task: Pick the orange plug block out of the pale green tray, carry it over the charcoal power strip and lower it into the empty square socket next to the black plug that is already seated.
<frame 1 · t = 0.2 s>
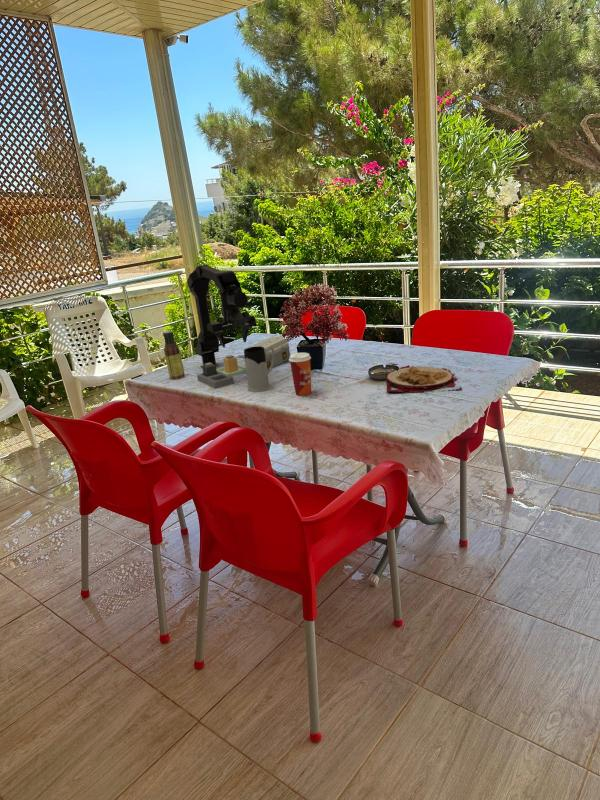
hand: (234, 344, 216), 14 cm above the table, tool pointing down, fingers open, 9 cm apart
grey pitcher: (264, 386, 209), on the table
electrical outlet: (268, 365, 235), on the table
power strip: (215, 383, 218), on the table
plate with food: (421, 382, 197), on the table
paper cup: (303, 393, 196), on the table
tray: (232, 373, 229), on the table
twin plug: (211, 379, 221), resting on power strip
plug: (231, 371, 229), resting on tray
sauce bottle: (177, 378, 230), on the table
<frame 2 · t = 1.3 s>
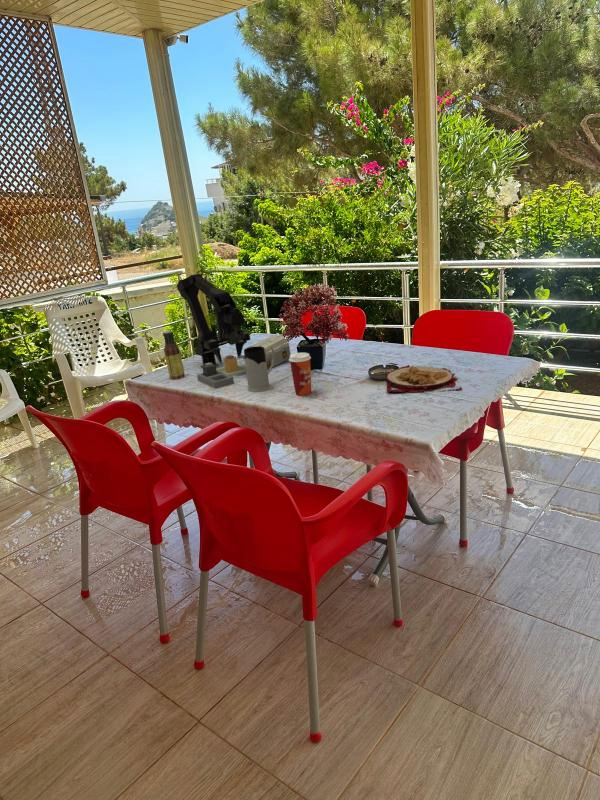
hand: (230, 360, 228), 5 cm above the table, tool pointing down, fingers open, 8 cm apart
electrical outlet: (269, 365, 235), on the table, touching gripper
everything else where it was.
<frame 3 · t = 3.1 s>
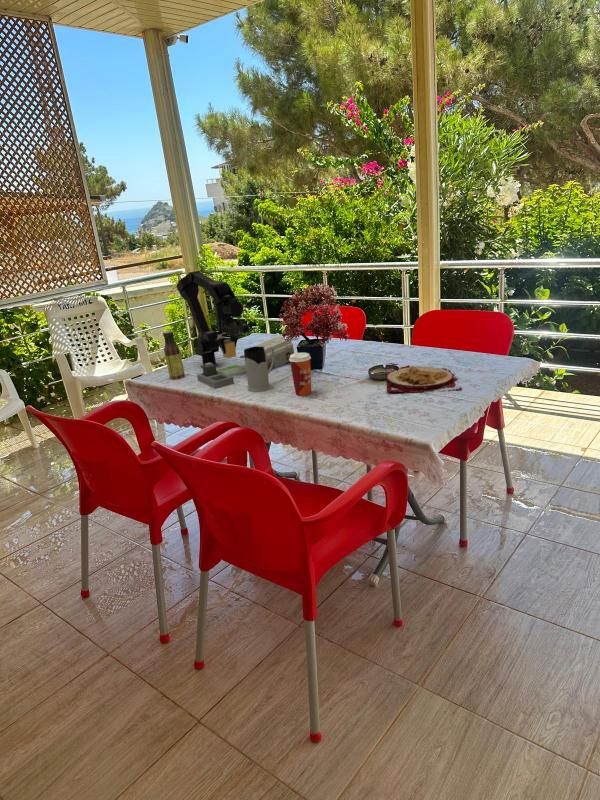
hand: (229, 352, 226), 9 cm above the table, tool pointing down, fingers closed on plug, 4 cm apart
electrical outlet: (272, 366, 234), on the table
plug: (229, 356, 227), point 7 cm above the table, touching gripper
everything else where it was.
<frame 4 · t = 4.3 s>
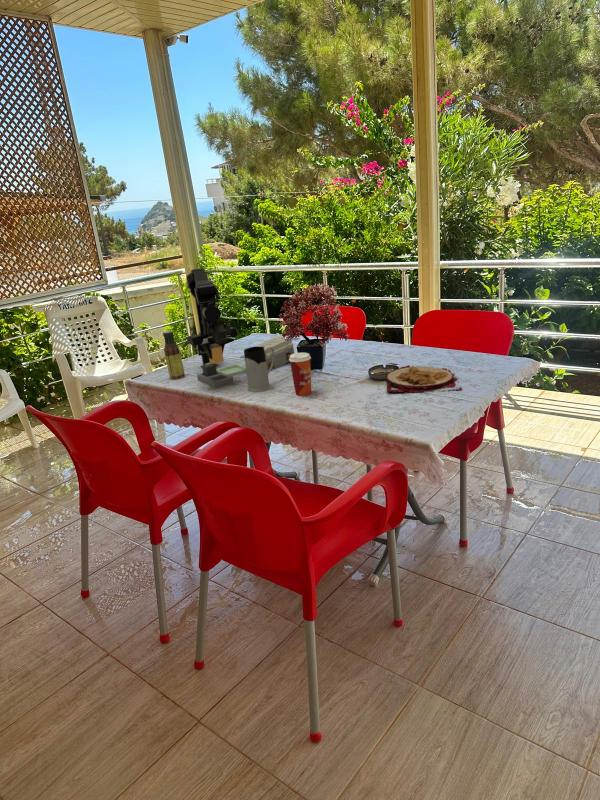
hand: (216, 357, 212), 11 cm above the table, tool pointing down, fingers closed on plug, 4 cm apart
plug: (216, 361, 212), point 9 cm above the table, touching gripper
everything else where it was.
when the fingers open (3 cm above the table, at t = 5.7 s): plug drops 1 cm, resting on power strip.
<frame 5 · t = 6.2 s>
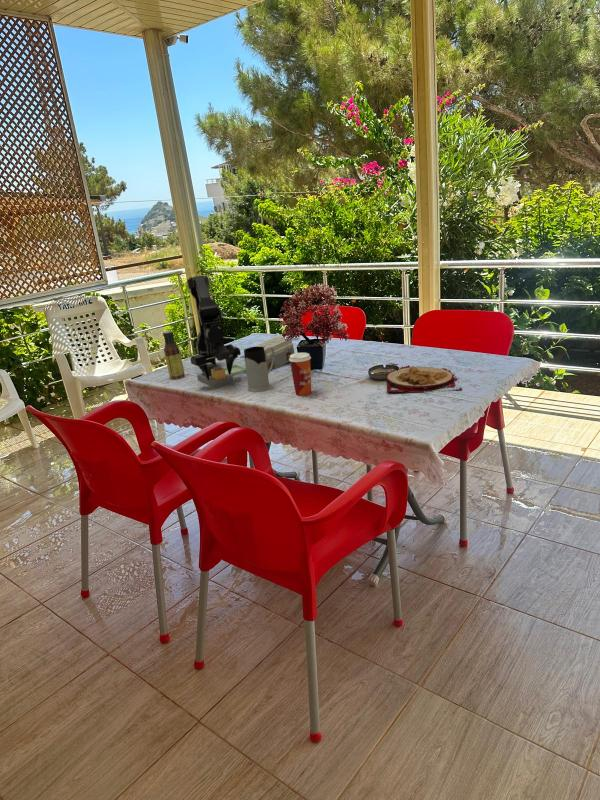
hand: (219, 377, 214), 3 cm above the table, tool pointing down, fingers open, 9 cm apart
plug: (220, 383, 215), resting on power strip
everything else where it was.
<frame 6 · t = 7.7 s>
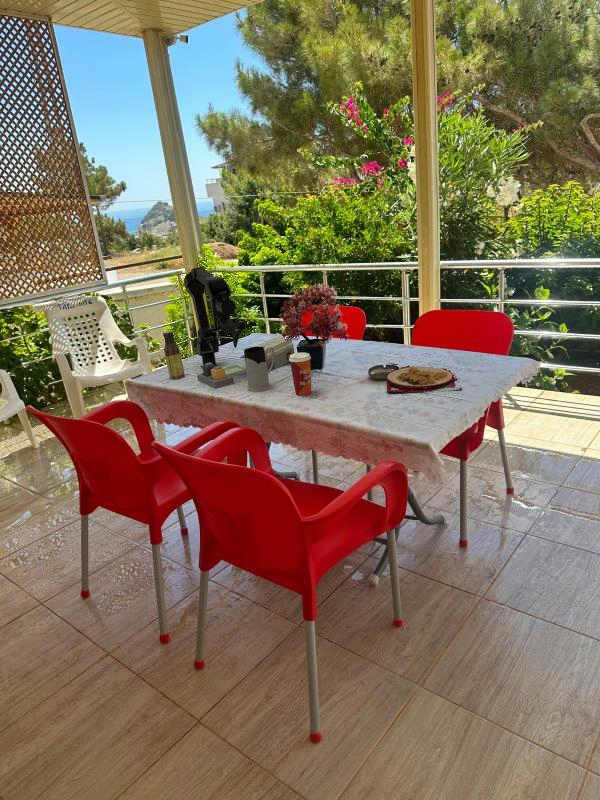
hand: (225, 350, 220), 12 cm above the table, tool pointing down, fingers open, 9 cm apart
nothing on the table moved.
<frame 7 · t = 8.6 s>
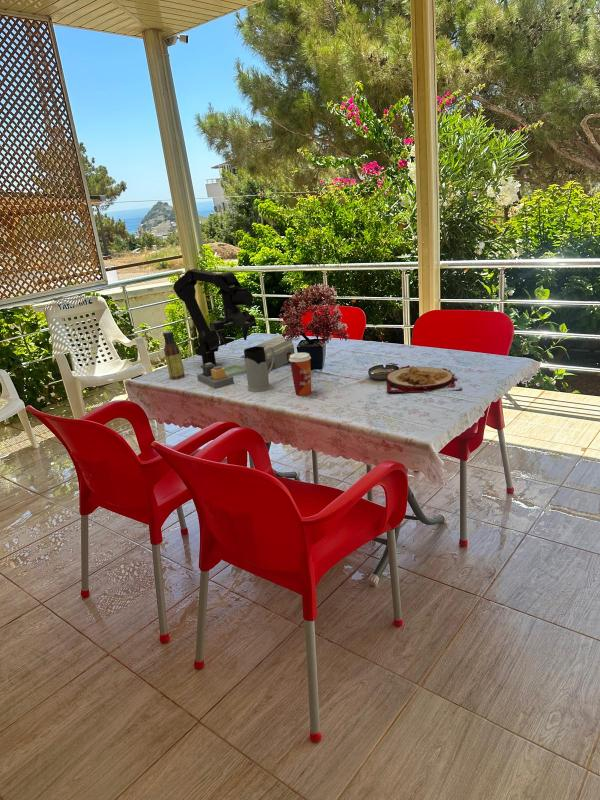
hand: (235, 342, 228), 12 cm above the table, tool pointing down, fingers open, 9 cm apart
nothing on the table moved.
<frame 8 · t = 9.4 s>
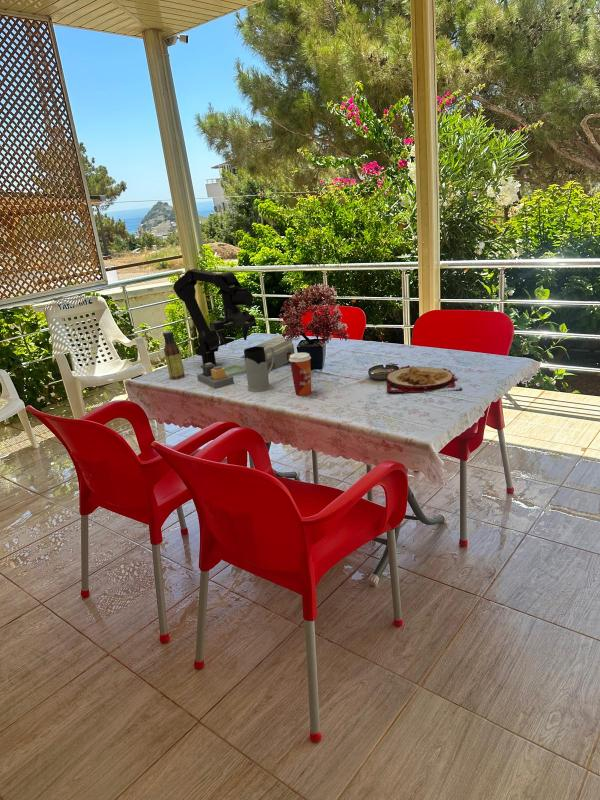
hand: (235, 342, 228), 12 cm above the table, tool pointing down, fingers open, 9 cm apart
nothing on the table moved.
at the end: plug 0.2 cm from the target spot on the power strip, point 0.5 cm above the power strip's base; plug tilted 0°; the gripper is holding nothing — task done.
